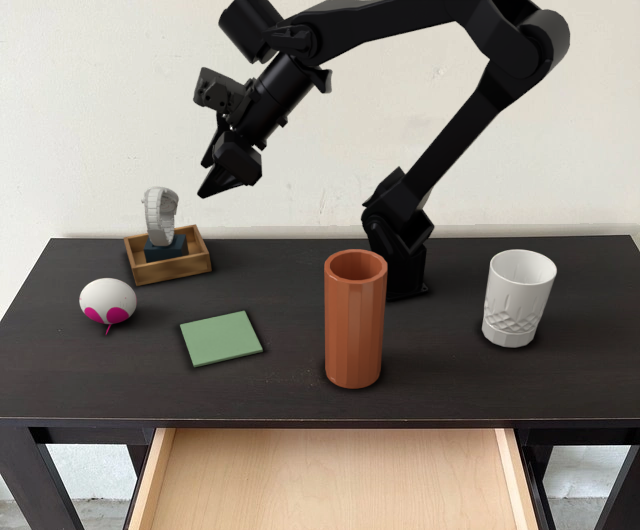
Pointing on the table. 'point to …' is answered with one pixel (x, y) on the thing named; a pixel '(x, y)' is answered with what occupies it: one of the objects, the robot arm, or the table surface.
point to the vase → (354, 317)
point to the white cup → (516, 296)
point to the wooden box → (171, 267)
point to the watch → (162, 226)
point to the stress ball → (108, 301)
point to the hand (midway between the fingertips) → (201, 180)
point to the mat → (220, 338)
